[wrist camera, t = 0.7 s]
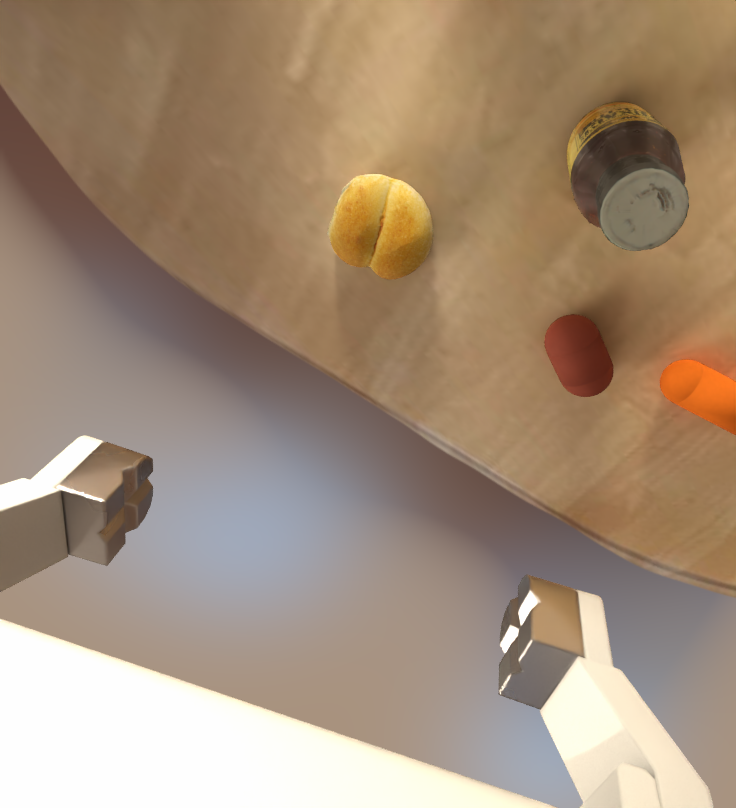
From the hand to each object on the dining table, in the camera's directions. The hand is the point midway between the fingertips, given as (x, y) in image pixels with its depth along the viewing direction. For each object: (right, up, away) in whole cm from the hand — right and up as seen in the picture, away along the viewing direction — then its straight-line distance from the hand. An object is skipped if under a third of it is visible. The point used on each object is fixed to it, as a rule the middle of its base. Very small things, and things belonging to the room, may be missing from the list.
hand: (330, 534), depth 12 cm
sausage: (+20, +8, +41) cm, 46 cm away
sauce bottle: (+19, +23, +32) cm, 44 cm away
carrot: (+32, +4, +40) cm, 52 cm away
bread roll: (+2, +19, +39) cm, 44 cm away
